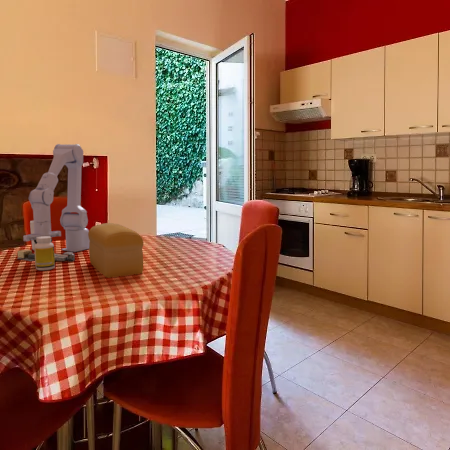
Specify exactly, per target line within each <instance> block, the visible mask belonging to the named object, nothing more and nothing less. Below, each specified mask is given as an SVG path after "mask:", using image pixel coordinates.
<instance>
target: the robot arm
mask: <svg viewBox="0 0 450 450" xmlns="http://www.w3.org/2000/svg"><path fill="white" fill-rule="evenodd" d="M52 155H53V158H52V161H51V164H50V166H49V169H48V171H47V172H45V173H43V174H42V176H41V178H40V180H39V181H38V183H37V186H36V187H35V189H32V190H31V191H30V192H29V195H28V201H29V203H30V205H31V209H32V214H33V221H34V234H31V233H30V234H26V235H23V242H30V241H32V240H34V242H35V244H37V242H36V238H37V237H41V236H50V237H51V243H53V238H55V237H62V230H53V231H52V223H51V222H52V221H51V220H52V219H51V204H52V203H53V202H54V194H55V192H54V191H55V188H57V184H58V183H59V178H58V175H59V174H60V173H61V171H62V169H63V167H64V166H66V168H67V197H66V198H67V199H66V200H67V202H66V203H67V204H66V206H65V207H64V208H62V210H61V216H60V218H59V221H60V222H59V223H60V226H61V227H63V230H65V247H66V248H61V251H65V252H66V251H67V252H73V253H77V252H80V251H84V250H89V242H90V241H89V237H88V232H89V229H88V228H86V227H87V226H88V224H89V223H88V222H89V219H88V214H87V213H88V211H87V210H86V209H85V208H84V207H82V205H81V204H82V203H81V201H82V196H81V195H82V166H83V165H84V149H83V148H82V147H81V145H80V144H79V143H75V144H74V143H73V144H66V143H64V144H61V143H57V144H55V146H54V148H53V150H52Z"/></svg>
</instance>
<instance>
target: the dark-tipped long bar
mask: <svg viewBox="0 0 450 450" xmlns="http://www.w3.org/2000/svg"><path fill="white" fill-rule="evenodd" d="M54 256H59V257H67V260H66V261H67V262H69V263H70V262H72V263H73V262H75V260H76V259H75V253H73V254H70V255H63V254H60V253H55V252H54Z"/></svg>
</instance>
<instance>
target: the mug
mask: <svg viewBox="0 0 450 450" xmlns="http://www.w3.org/2000/svg"><path fill="white" fill-rule="evenodd" d="M29 226H30V228H29V229H30V234H34V220H30V222H29ZM34 246H35V242H34V240H31V250H33V251H34Z"/></svg>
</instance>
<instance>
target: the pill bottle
mask: <svg viewBox="0 0 450 450" xmlns="http://www.w3.org/2000/svg"><path fill="white" fill-rule="evenodd" d="M51 238H52V237H50V236H41V237H37V238H36V242H37V244H35V246H34V250H33V251H34V254H35V261H34V262H35V263H34V264H35V265H34V266H35V269H36V270H37V271H50V270H52V269H55V268H56V260H55V256H54V253H55V246H54V243H53V242H51Z"/></svg>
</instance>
